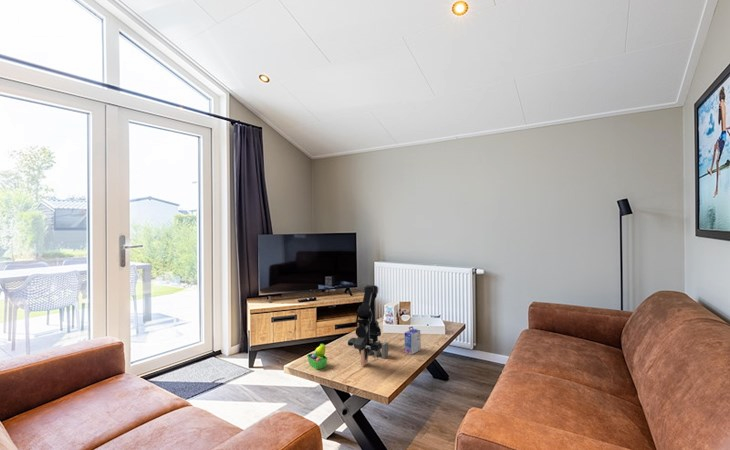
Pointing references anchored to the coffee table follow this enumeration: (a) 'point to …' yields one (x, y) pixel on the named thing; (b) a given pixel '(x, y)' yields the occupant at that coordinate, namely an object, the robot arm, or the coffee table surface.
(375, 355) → the domino
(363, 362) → the domino
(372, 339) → the domino
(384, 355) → the domino
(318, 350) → the fruit basket
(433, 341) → the coffee table surface
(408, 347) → the ink cartridge box
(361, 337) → the robot arm
